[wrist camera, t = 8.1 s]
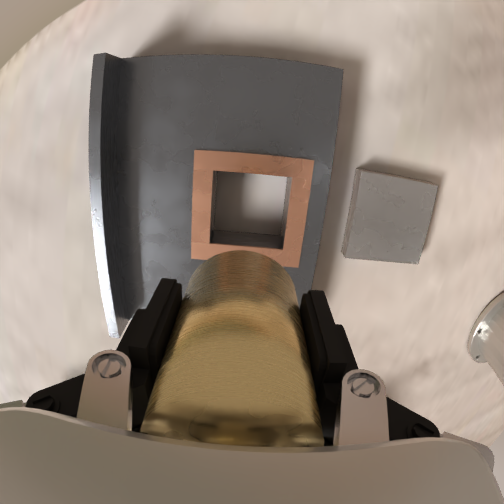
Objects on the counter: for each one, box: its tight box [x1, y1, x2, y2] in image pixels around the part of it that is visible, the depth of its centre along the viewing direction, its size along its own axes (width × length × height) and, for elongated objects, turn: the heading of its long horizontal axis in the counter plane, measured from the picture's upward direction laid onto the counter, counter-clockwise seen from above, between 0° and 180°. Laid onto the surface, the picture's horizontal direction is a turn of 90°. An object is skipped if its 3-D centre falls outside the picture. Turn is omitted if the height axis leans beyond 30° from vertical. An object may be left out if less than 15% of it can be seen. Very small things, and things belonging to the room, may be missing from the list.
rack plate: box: [89, 53, 343, 338], centre depth 25 cm, size 18×24×6 cm
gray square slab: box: [341, 168, 438, 264], centre depth 27 cm, size 8×8×2 cm
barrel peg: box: [141, 250, 324, 447], centre depth 10 cm, size 4×4×7 cm
